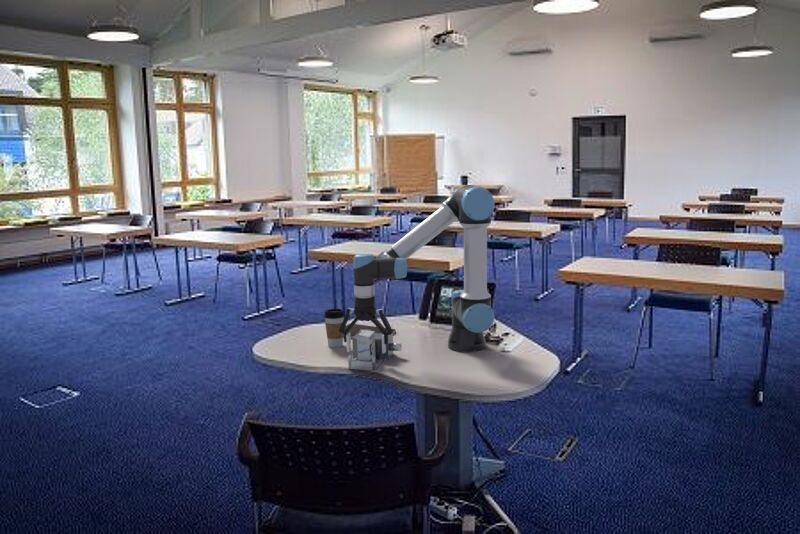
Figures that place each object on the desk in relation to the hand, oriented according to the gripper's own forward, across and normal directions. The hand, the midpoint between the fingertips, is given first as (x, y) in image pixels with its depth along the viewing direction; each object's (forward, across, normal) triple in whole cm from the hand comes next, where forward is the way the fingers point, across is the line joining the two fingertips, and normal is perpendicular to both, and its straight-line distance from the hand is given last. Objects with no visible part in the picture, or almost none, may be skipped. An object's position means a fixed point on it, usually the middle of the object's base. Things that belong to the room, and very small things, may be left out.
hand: (366, 351), depth 248 cm
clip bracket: (+5, 0, 0) cm, 5 cm away
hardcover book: (+6, +12, -38) cm, 41 cm away
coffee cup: (+5, +19, -20) cm, 28 cm away
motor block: (+5, -2, -9) cm, 11 cm away
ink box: (+5, 0, 0) cm, 5 cm away
